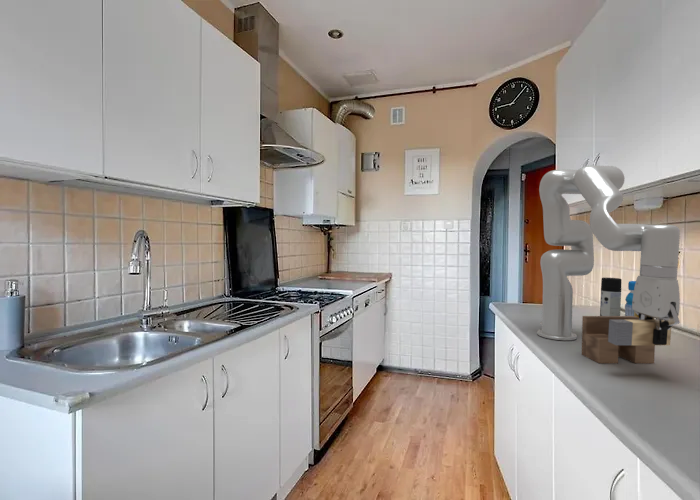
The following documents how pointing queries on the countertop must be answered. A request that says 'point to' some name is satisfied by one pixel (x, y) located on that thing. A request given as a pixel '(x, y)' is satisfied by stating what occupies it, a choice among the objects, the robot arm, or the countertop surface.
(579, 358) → the countertop surface
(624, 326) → the silver and tan rail
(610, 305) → the spray can
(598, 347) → the wooden two-prong bracket
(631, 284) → the beverage bottle
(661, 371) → the countertop surface
